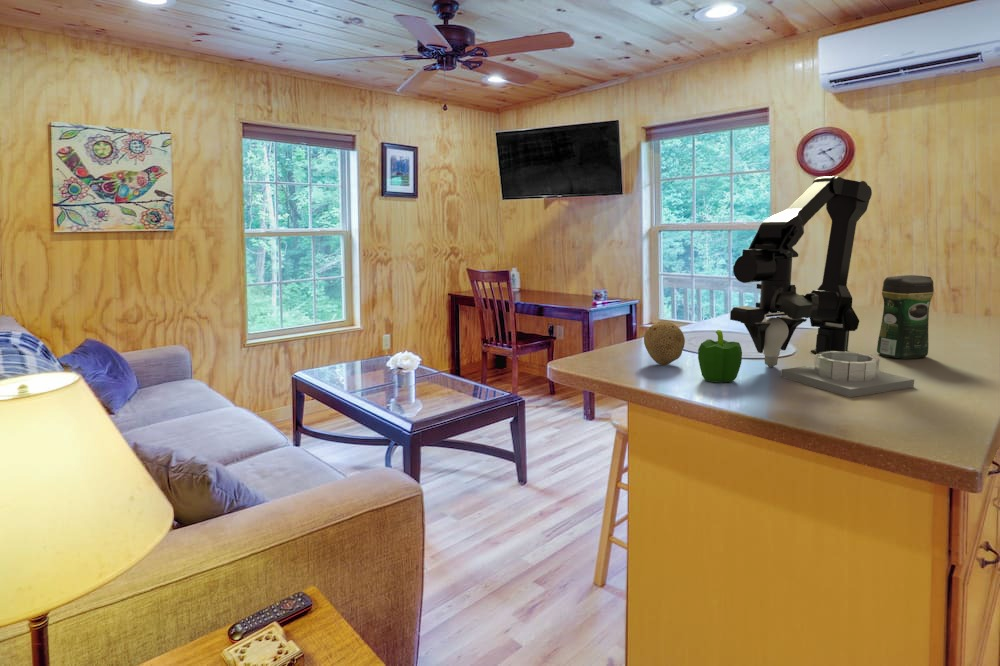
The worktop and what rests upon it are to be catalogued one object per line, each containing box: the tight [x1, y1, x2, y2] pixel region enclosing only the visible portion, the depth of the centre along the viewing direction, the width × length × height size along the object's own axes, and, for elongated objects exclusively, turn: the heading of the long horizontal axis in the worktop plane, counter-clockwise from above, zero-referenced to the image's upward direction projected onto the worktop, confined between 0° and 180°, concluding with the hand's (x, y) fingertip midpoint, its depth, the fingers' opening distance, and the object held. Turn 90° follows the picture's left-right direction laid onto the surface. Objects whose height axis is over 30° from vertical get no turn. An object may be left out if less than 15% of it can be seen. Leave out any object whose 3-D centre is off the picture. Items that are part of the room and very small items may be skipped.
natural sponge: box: [643, 320, 686, 366], centre depth 133 cm, size 9×9×10 cm
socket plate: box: [780, 364, 915, 398], centre depth 116 cm, size 16×16×2 cm
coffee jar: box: [876, 274, 934, 360], centre depth 135 cm, size 10×8×19 cm
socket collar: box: [814, 351, 880, 382], centre depth 116 cm, size 10×10×4 cm
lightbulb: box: [763, 316, 789, 368], centre depth 128 cm, size 6×6×11 cm
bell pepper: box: [697, 329, 743, 383], centre depth 119 cm, size 8×8×10 cm
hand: (771, 351), depth 129 cm, fingers open, 6 cm apart
